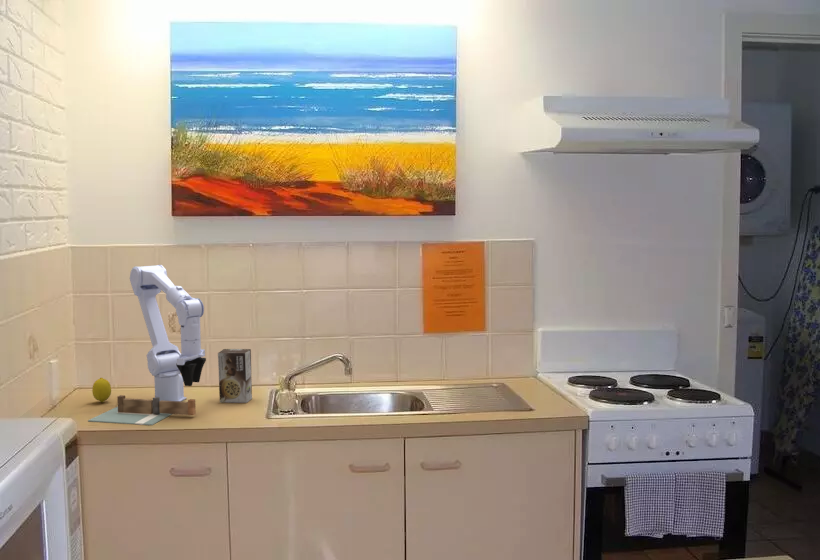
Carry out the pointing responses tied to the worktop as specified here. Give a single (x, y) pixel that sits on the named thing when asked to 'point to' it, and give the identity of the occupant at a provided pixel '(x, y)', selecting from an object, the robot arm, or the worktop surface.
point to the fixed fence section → (138, 405)
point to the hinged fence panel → (178, 407)
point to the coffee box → (235, 375)
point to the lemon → (101, 390)
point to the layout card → (128, 417)
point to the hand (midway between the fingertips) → (192, 383)
